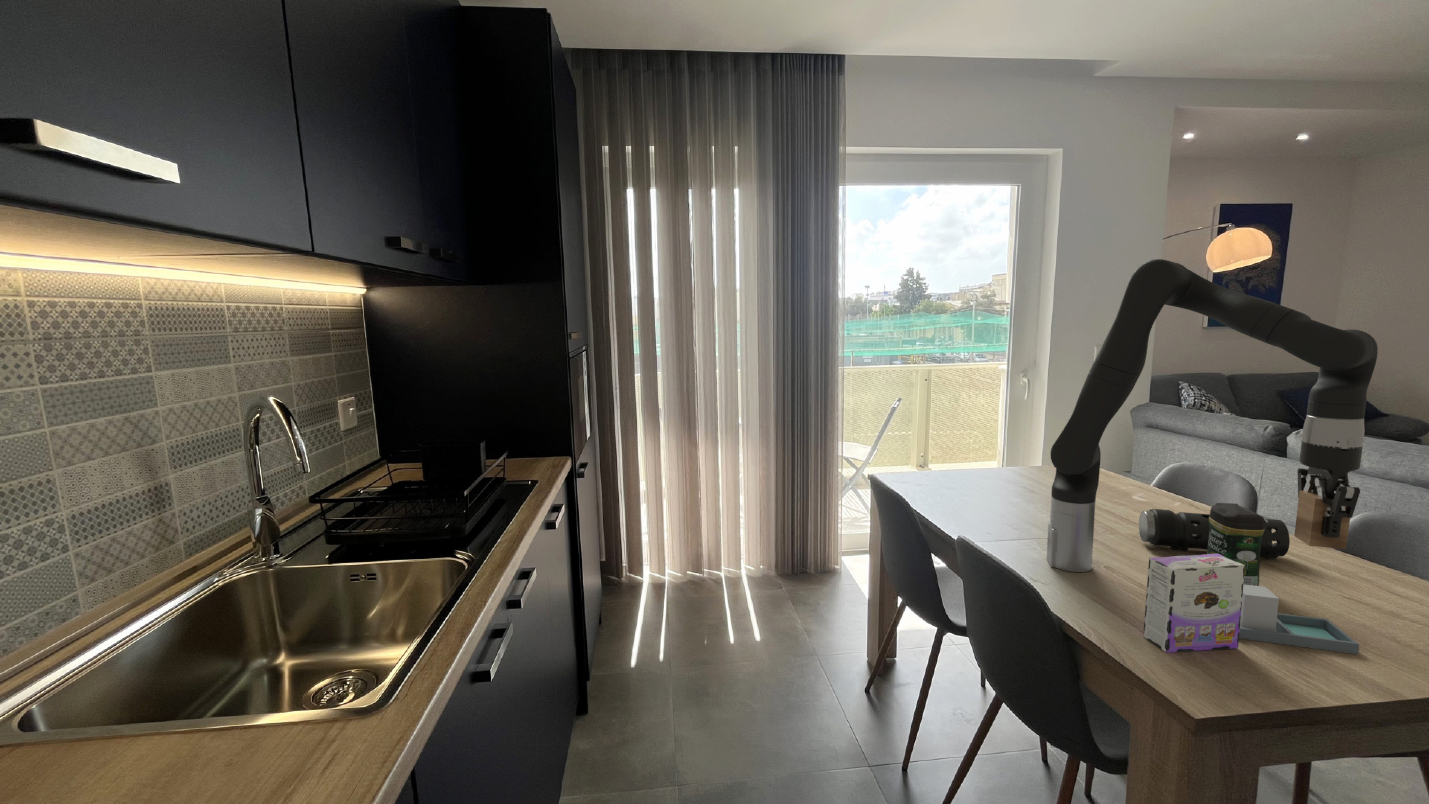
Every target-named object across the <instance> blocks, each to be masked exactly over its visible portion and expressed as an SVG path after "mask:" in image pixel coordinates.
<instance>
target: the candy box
mask: <svg viewBox="0 0 1429 804" xmlns="http://www.w3.org/2000/svg"><path fill="white" fill-rule="evenodd" d="M1244 571H1245V565H1243V564H1241V563H1238V562H1236V561H1234V560H1232V559H1229V558H1226V557H1224V556H1222V555H1220V554H1191V555H1175V556H1174V555H1173V556H1155V557H1151V556H1150V557H1149V558H1148V569H1147V584H1146V595H1145V605H1144V606H1145V609H1144V610H1145V611H1144V620H1143V621H1144V623H1143V638H1145V639H1146V640H1148V642H1150V643H1152V644H1153V645H1155V647H1157V648H1159V649H1160V650H1162V652H1164V653H1168V654H1169V653H1179V652H1180V653H1183V652H1197V651H1198V652H1199V651H1200V652H1201V651H1211V650H1212V651H1213V650H1224V649H1225V650H1230V649H1239V644H1240V638H1239V632H1240V618H1241V606H1242V595H1243V583H1244Z"/></svg>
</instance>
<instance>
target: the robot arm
mask: <svg viewBox="0 0 1429 804" xmlns="http://www.w3.org/2000/svg"><path fill="white" fill-rule="evenodd" d="M1125 288H1126V289H1125V290H1124V294H1123V297H1122V300H1121V302H1120V306H1119V308H1118V310H1117V314H1116V316H1115V318H1114V321H1113V323H1112V325H1111V327H1110V329H1109V330H1108V333H1107V335H1106V337H1105V339H1104V341H1103V343H1102V345H1101V347H1100V349H1099V351H1098V354H1096V357H1095V359H1094V361H1093V363H1092V364H1091V367H1090V369H1089V371H1088V373H1087V374H1086V375H1087V376H1086V378H1085V381H1084V383H1083V385H1082V388H1081V390H1080V393H1079V395H1078V398H1077V400H1076V403H1075V407H1074V408H1073V412H1072V414H1071V415H1070V417H1069V419H1068V421H1067V423H1066V424H1065V426H1064V428H1063V429H1062V431H1061V433H1060V434H1059V435H1058V437H1057V439H1056V440H1055V441H1054V444H1052V446H1051V449H1050V460H1051V463H1052V465H1053V467H1054V468H1055V476H1054V480H1053V483H1052V486H1051V493H1050V494H1051V497H1050V498H1051V499H1050V500H1051V501H1050V518H1049V519H1050V521H1049V522H1048V523H1047V543H1046V560H1047V562H1048V564H1049V567H1051V568H1056V569H1059V570H1062V571H1066V572H1071V573H1072V572H1074V573H1085V572H1089V571H1091V570H1092V566H1093V553H1094V552H1093V551H1094V550H1093V549H1094V536H1095V535H1094V533H1095V532H1094V530H1095V513H1096V498H1097V491H1098V489H1099V484H1100V483H1099V482H1100V470H1101V469H1100V468H1101V458H1102V457H1101V456H1102V455H1101V452H1102V451H1101V447H1100V445H1099V444H1100V442H1101V438H1102V436H1103V434H1104V432H1105V431H1106V428H1107V426H1108V425H1109V423H1110V422H1111V421H1112V419H1113V418H1114V417H1115V415H1116V414H1117V413H1118V412H1119V410H1120V409H1121V408H1122V407H1123V406H1124V404H1125V402H1126V401H1127V399H1128V398H1129V396H1130V394H1131V393H1132V392H1133V389H1134V388H1135V385H1136V384H1137V382H1138V380H1139V379H1140V376H1141V374H1142V372H1143V369H1144V367H1145V364H1146V359H1147V354H1148V346H1149V338H1150V334H1151V331H1152V328H1153V326H1154V323H1155V322H1156V320H1157V317H1158V316H1159V315H1160V312H1161V311H1162V309H1163V308H1164V306H1165V305H1166V306H1170V307H1174V308H1179V309H1184V310H1189V311H1192V312H1195V313H1198V314H1201V315H1203V316H1206V317H1208V318H1209V319H1211V320H1215V321H1217V322H1218V323H1219V324H1222V325H1225V327H1228V328H1230V329H1231V330H1234V331H1236V332H1238V333H1240V334H1242V335H1245V336H1247V337H1250V338H1253V339H1255V340H1257V341H1260V342H1262V343H1265V344H1268V345H1270V346H1273V347H1276V348H1279V349H1282V350H1283V351H1285V352H1287V353H1288V354H1290V355H1292V356H1294V357H1296V358H1298V359H1300V360H1302V361H1304V362H1306V363H1307V364H1310V365H1312V366H1315V367H1317V368H1319V371H1318V377H1317V381H1316V382H1315V384H1314V385H1313V386H1312V388H1311V389H1310V391H1309V394H1308V401H1307V410H1306V417H1305V421H1304V423H1303V428H1302V436H1301V443H1300V444H1301V445H1300V453H1299V463H1300V464H1301V465H1302V466H1305V467H1308V468H1297V497H1298V499H1299V492H1300V491H1306V492H1311V491H1313V493H1316V494H1318V498H1320V499H1321V503H1323V504H1324V507H1323V514H1324V516H1323V521H1322V529H1321V534H1322V535H1323V536H1325V537H1333V538H1337V537H1339V535H1340V527H1341V519H1342V518H1350V519H1352V518H1353V516H1354V512H1355V511H1356V508H1357V507H1356V505H1357V502H1358V500H1359V496H1360V494H1361V488H1360V487H1358V486H1351V485H1350V484H1349V483H1350V482H1349V475H1348V473H1350V472H1352V471H1353V472H1354V471H1358V470H1360V468H1361V462H1362V454H1363V447H1364V439H1365V431H1366V430H1365V414H1366V406H1367V394H1368V389H1369V385H1370V382H1371V380H1372V377H1373V374H1374V371H1375V368H1376V363H1377V361H1378V353H1379V352H1378V351H1379V348H1378V343H1377V341H1376V339H1375V338H1374V337H1373V336H1372V335H1371V334H1370V333H1368V332H1366V331H1363V330H1360V329H1349V328H1348V329H1341V328H1338V327H1334V326H1331V325H1329V324H1328V325H1327V324H1326V323H1323V322H1319V321H1317V320H1314V319H1312V318H1311V316H1309V315H1308V314H1306V313H1304V312H1301V311H1298V310H1295V309H1293V308H1290V307H1287V306H1284V305H1281V304H1278V303H1276V302H1272V301H1269V300H1266V299H1263V298H1261V297H1257V296H1253V295H1249V294H1246V293H1242V292H1239V291H1236V290H1232V289H1230V288H1227V287H1224V286H1221V285H1219V284H1217V283H1215V282H1212V281H1210V280H1209V279H1207V278H1204V277H1203V276H1201V275H1199V274H1197V273H1196V272H1194V271H1192V270H1191V269H1188V268H1187V267H1185V266H1184V265H1183V264H1181V263H1179V262H1174V261H1171V260H1167V259H1162V258H1155V259H1150V260H1147V261H1145V262H1144V263H1141V264H1140V265H1139V266H1138V267H1137V268H1136V269H1135V270H1134V271H1133V273H1132V274H1131V276H1130V278H1129V280H1128V283H1127V285H1126V287H1125ZM1326 497H1328V498H1334V500H1333V499H1327V498H1326ZM1330 504H1332V507H1331V510H1330ZM1345 506H1347V507H1346V510H1345Z"/></svg>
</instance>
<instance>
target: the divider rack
mask: <svg viewBox="0 0 1429 804" xmlns="http://www.w3.org/2000/svg"><path fill="white" fill-rule="evenodd" d="M1279 601H1280V598H1279V597H1278V596H1277V595H1275V594H1274V593H1273V592H1272V591H1271V590H1270V589H1269V588H1267V587H1266V586H1261V585H1259V586H1253V585H1244V584H1243V595H1242V606H1241V618H1240V632H1239V640H1240V639H1241V640H1248V641H1249V640H1250V641H1256V642H1264V643H1272V644H1278V645H1284V644H1286V645H1285V646H1292V645H1293V647H1300V648H1306V647H1309V649H1316V650H1320V651H1321V650H1322V651H1328V650H1329V651H1330V652H1337V653H1343V652H1347V653H1346V654H1350V653H1351V655H1359V650H1360V643H1359V642H1358V641H1356V640H1355V639H1354V638H1352V637H1351V636H1350V635H1348V634H1347V633H1346V632H1345V631H1343V630H1342V629H1341V628H1340V627H1338V626H1337V625H1336V624H1335V623H1333V622H1332V621H1331V620H1329V619H1328V618H1324V617H1323V618H1321V617H1314V616H1313V617H1312V616H1305V615H1299V614H1289V613H1280V612H1278V610H1279Z"/></svg>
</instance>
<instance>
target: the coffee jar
mask: <svg viewBox="0 0 1429 804" xmlns="http://www.w3.org/2000/svg"><path fill="white" fill-rule="evenodd" d="M1209 511H1210V512H1209V514H1210V515H1209V526H1210V531H1209V542H1208V550H1206V553H1207V554H1220V555H1222V556H1224V557H1226V558H1229V559H1232V560H1234V561H1236V562H1238V563H1241V564H1243V565H1245V571H1244V583H1243V584H1244V585H1253V586H1260V560H1261V557H1260V547H1261V539H1262V536H1263V533H1264V528H1265V524H1264V519H1265V518H1264V516H1262V515H1260V514H1258V513H1257V512H1254V511H1253V510H1250V509H1249V508H1246V507H1244V506H1241V505H1239V504H1238V503H1232V502H1231V503H1230V502H1216V503H1215V504H1213V505H1212V506H1211V507H1210V510H1209Z"/></svg>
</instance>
